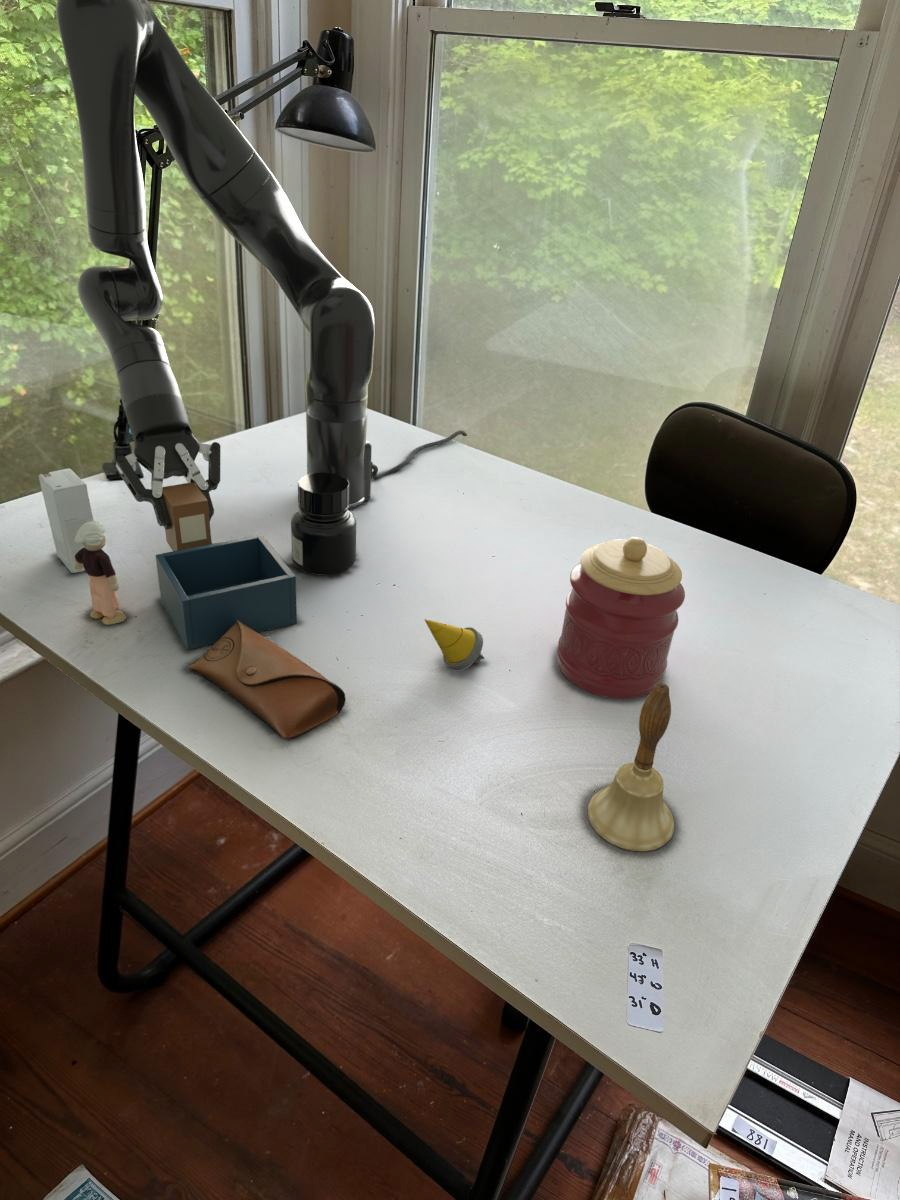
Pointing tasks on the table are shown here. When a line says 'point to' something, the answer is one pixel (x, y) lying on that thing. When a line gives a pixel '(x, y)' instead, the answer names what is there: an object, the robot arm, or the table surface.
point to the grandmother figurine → (98, 572)
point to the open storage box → (226, 589)
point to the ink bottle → (323, 525)
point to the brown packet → (187, 516)
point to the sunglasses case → (270, 682)
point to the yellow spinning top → (457, 644)
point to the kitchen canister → (620, 618)
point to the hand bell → (638, 788)
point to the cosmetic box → (66, 512)
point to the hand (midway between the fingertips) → (188, 523)
